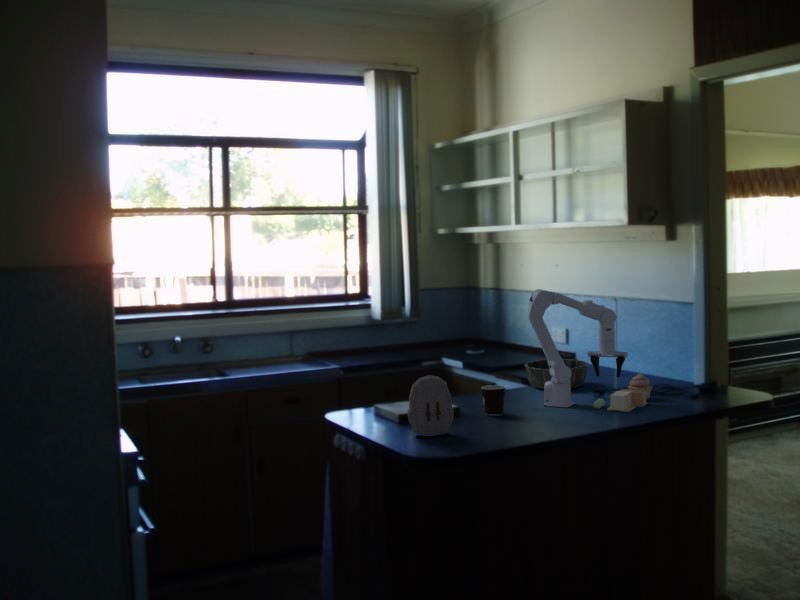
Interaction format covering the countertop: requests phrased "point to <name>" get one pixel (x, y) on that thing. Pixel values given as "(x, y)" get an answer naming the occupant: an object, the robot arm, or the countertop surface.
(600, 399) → the marble
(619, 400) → the block
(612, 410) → the coaster
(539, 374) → the bundt pan
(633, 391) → the tan cardboard brick
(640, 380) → the cupcake
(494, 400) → the coffee mug
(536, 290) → the robot arm
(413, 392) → the grey rounded bag
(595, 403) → the marble
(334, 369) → the countertop surface
